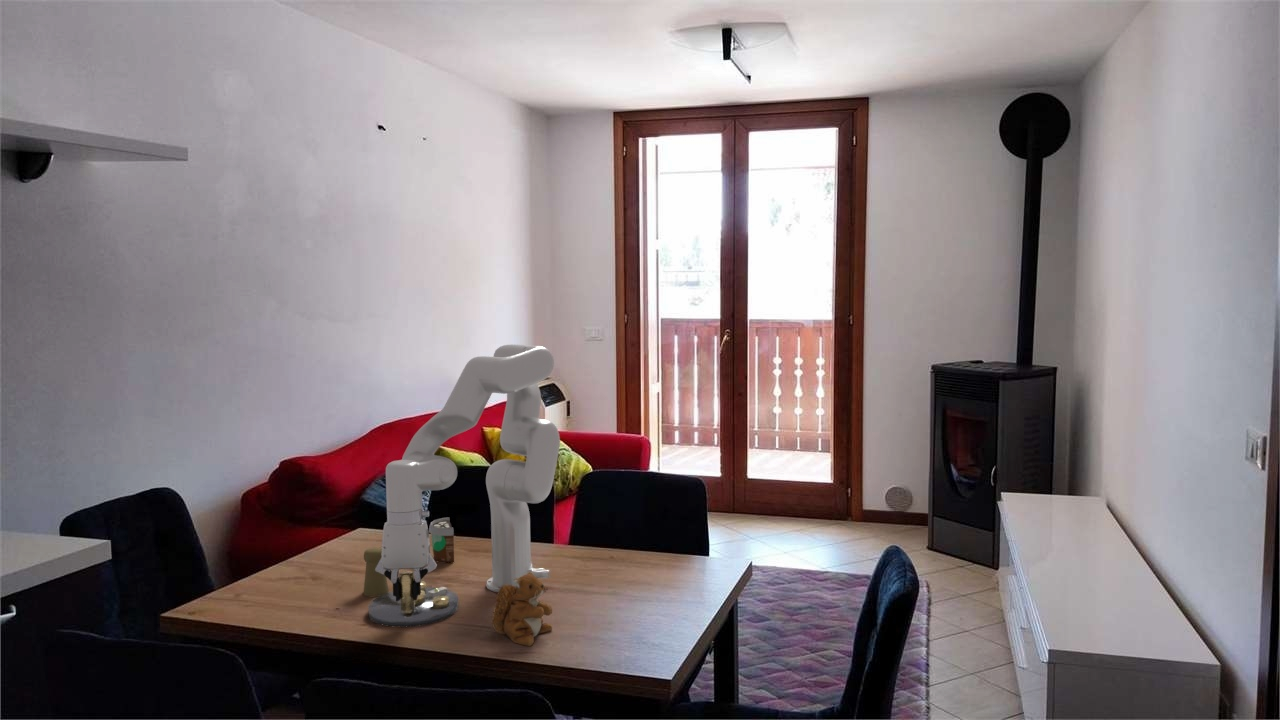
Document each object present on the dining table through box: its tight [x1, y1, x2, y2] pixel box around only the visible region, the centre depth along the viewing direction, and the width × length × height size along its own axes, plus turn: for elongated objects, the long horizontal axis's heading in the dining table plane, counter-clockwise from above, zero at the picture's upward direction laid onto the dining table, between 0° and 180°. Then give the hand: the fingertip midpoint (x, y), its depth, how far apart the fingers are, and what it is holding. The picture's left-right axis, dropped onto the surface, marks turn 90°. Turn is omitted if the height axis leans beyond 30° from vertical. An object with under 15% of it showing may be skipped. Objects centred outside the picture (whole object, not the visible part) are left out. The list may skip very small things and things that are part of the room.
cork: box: [363, 546, 390, 598], centre depth 216 cm, size 6×6×11 cm
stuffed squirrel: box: [490, 572, 553, 647], centre depth 189 cm, size 10×14×13 cm
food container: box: [428, 517, 455, 564], centre depth 242 cm, size 12×6×10 cm, turn 17°
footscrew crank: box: [398, 570, 425, 613], centre depth 200 cm, size 12×5×9 cm, turn 5°
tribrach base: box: [368, 580, 459, 628], centre depth 204 cm, size 20×20×4 cm
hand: (407, 597), depth 195 cm, fingers closed on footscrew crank, 3 cm apart
